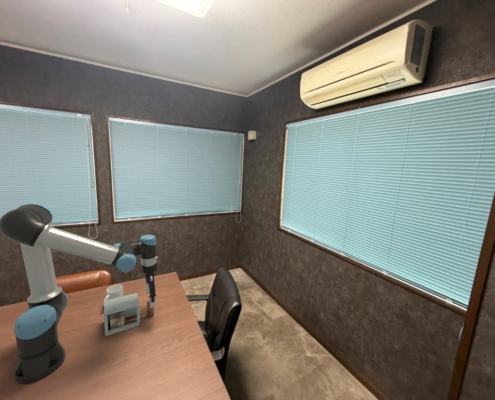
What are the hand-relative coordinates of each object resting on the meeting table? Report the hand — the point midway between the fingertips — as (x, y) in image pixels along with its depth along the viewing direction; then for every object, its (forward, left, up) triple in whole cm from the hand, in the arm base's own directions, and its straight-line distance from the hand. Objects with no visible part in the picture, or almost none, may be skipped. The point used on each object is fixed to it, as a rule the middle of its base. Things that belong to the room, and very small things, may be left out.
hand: (150, 299), depth 119 cm
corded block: (-9, 0, -9) cm, 13 cm away
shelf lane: (-13, 0, -9) cm, 16 cm away
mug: (-18, +18, -10) cm, 27 cm away
